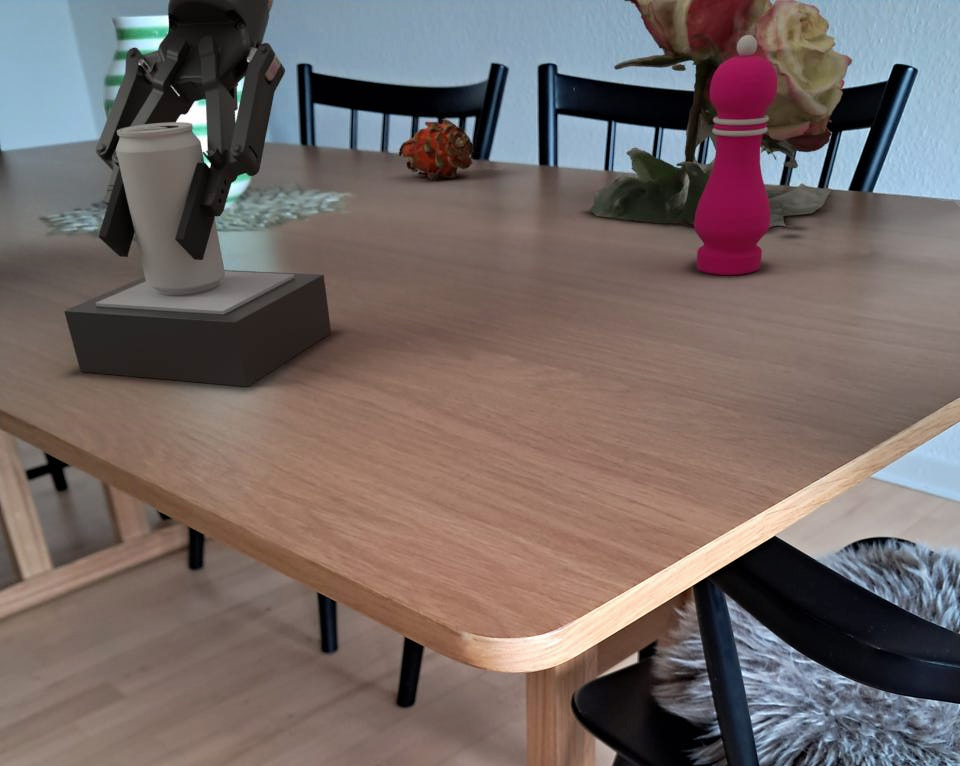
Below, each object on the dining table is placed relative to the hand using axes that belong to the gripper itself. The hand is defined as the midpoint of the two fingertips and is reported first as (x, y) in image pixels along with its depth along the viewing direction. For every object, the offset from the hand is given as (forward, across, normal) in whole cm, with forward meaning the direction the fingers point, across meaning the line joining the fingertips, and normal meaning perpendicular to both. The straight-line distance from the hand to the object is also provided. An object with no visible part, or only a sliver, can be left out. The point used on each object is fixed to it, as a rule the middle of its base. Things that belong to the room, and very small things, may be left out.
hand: (150, 247), depth 78 cm
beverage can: (0, 0, -6) cm, 6 cm away
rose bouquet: (-42, -34, -55) cm, 77 cm away
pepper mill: (-21, -39, -34) cm, 56 cm away
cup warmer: (+4, -1, -9) cm, 10 cm away
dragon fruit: (-54, +12, -67) cm, 87 cm away
